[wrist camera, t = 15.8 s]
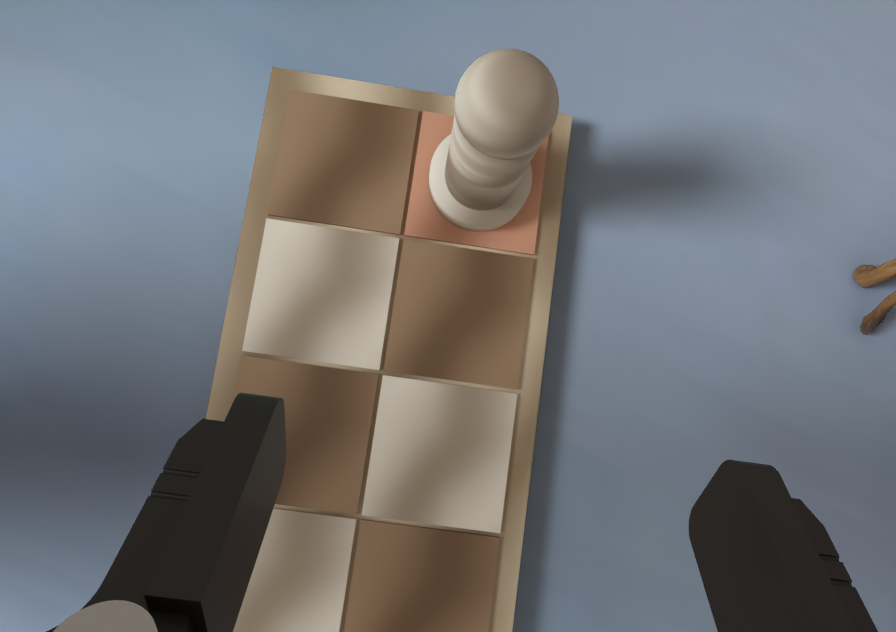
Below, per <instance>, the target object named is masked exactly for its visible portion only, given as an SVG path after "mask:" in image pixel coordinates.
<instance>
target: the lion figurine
mask: <svg viewBox="0 0 896 632" xmlns="http://www.w3.org/2000/svg"><path fill="white" fill-rule="evenodd" d="M853 277H854V279H855V281H856V282H857V284H858V285H859V286H861V287H864V288H867V287H871V286H874V285H876V284H878V283H880V282H884V281H887V280H890V279H892V278H895V277H896V258H895V259H893V260H892V261H889V262H886V263H884V264H882V265H880V266H879V267H874V266H872V265H862V266H860V267H858V268H857V269H856V270H855V271H854V273H853ZM894 305H896V291H895V292H894V293H892V294H891V295H889V296H888V297H887V298H885V299H884V300H883V301H882V302H881V303H880V304H879V306H878V307H877V308H876V309H875V310H873V311H872V312H871V313H869V314H868V315H867V316H865V317H864V318H863V322H862V324H861V326H860V331H861V333H863V334H864V335H868V334H870V333H871V332H872V331H873V330H874V329H875V328H876V327H877V326H878V325H879V324H880V323H882V321H883V320H884V319H885V317H886V314H887V313H888V312H889V311H890V309H891V308H892V307H893V306H894Z"/></svg>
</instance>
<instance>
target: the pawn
mask: <svg viewBox="0 0 896 632" xmlns="http://www.w3.org/2000/svg"><path fill="white" fill-rule="evenodd" d="M558 107H559V96H558V90H557V86H556V83H555V80H554V78H553V76H552V74H551V73H550V71H549V70H548V68H547V67H546V66H545V65H544V64H543V63H542V62H541V61H540V60H539V59H538V58H536V57H535V56H533V55H531V54H529V53H527V52H525V51H521V50H517V49H499V50H495V51H492V52H489V53H487V54H485V55H483V56H481V57H480V58H478V59H477V60H476V61H475V62H473V63H472V64H471V65H470V66H469V67H468V69H467V70H466V71H465V73H464V74H463V76H462V78H461V79H460V82H459V84H458V87H457V90H456V94H455V101H454V110H455V116H454V121H453V127H452V132H451V134H450V135H449V136H447V137H446V138H445V139H444V140H443V141H442V142H441V143H440V145H439V146H438V147H437V149H436V151H435V152H434V155H433V157H432V160H431V164H430V172H429V191H430V196H431V199H432V201H433V203H434V205H435V207H436V209H437V210H438V212H439V213H440V214H441V215H442V216H443V217H444V218H445V219H446V220H447V221H448V222H450V223H451V224H453V225H455V226H456V227H459V228H461V229H464V230H468V231H473V232H485V231H491V230H495V229H497V228H500V227H502V226H504V225H505V224H507V223H508V222H509V221H511V220H512V219H513V218H514V217H515V216H516V215H517V213H518V212H519V211H520V209H521V208H522V206H523V205H524V203H525V201H526V200H527V198H528V195H529V193H530V190H531V185H532V169H531V164H530V162H531V160H532V158H533V157H534V155H535V153H536V151H537V149H538V148H539V146H540V145H541V144H542V143H543V142H544V140H545V139H546V138H547V137H548V135H549V134H550V132H551V130H552V129H553V126H554V124H555V121H556V119H557V114H558Z"/></svg>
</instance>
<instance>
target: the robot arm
mask: <svg viewBox="0 0 896 632" xmlns="http://www.w3.org/2000/svg"><path fill="white" fill-rule="evenodd" d="M285 463H286V431H285V406H284V400H283V398H279V397H272V396H264V395H257V394H249V393H242V392H241V393H239V394H238V395H237V396H236V398H235V399H234V401H233V403H232V406H231V408H230V410H229V412H228V414H227V416H226V418H225V421H217V420H209V419H202V420H201V421H200V422H198V423H197V424H196V425H195V426H194V427H193V428H192V429H191V430H189V431H188V432H187V433H186V434H185V435H184V436H183V437H181V438H180V439H179V440H178V442H177V443H176V445H175V447H174V449H173V451H172V453H171V455H170V457H169V459H168V460H167V462H166V464H165V466H164V470H163V473H161V474H160V475H159V477H158V479H157V481H156V483H155V485H154V487H153V489H152V492H151V496H150V497H149V496H148V498H147V500H146V502H145V504H144V506H143V508H142V509H141V511H140V513H139V515H138V517H137V519H136V521H135V523H134V524H133V526H132V528H131V530H130V532H129V534H128V536H127V538H126V540H125V541H124V543H123V545H122V547H121V549H120V551H119V553H118V555H117V557H116V558H115V560H114V562H113V564H112V566H111V568H110V570H109V572H108V573H107V575H106V577H105V579H104V581H103V583H102V584H101V586H100V588H99V589H98V591H97V592H96V594H95V595H94V596H93V597H92V599H91V600H90V601H89V602H88V603H87V604H86V605H85V606H84V607H83V608H82V609H81V610H80V611H78V612H76V613H75V614H73V615H72V616H70V617H69V618H67V619H66V620H65V621H64V622H63V623H61V624H60V625H59V626H57V627H55V628H53V629H51V630H49V631H47V632H233V630H234V627H235V624H236V621H237V618H238V615H239V612H240V609H241V606H242V603H243V600H244V597H245V593H246V590H247V587H248V584H249V581H250V578H251V575H252V572H253V569H254V566H255V563H256V560H257V557H258V554H259V551H260V548H261V545H262V542H263V539H264V535H265V532H266V529H267V526H268V523H269V520H270V517H271V514H272V511H273V508H274V505H275V502H276V499H277V496H278V493H279V490H280V486H281V483H282V479H283V475H284V469H285ZM689 536H690V541H691V544H692V548H693V551H694V554H695V558H696V561H697V564H698V567H699V571H700V574H701V577H702V581H703V584H704V587H705V591H706V594H707V597H708V601H709V604H710V607H711V610H712V614H713V617H714V620H715V624H716V627H717V630H718V632H878V631H877V629H876V627H875V625H874V623H873V621H872V619H871V617H870V615H869V613H868V611H867V609H866V608H865V606H864V604H863V602H862V600H861V598H860V596H859V594H858V592H857V590H856V588H855V587H852V585H851V582H852V580H851V578H850V576H849V574H848V572H847V570H846V568H845V566H844V564H843V562H839V555H838V553H837V551H836V549H835V547H834V545H833V543H832V541H831V539H830V537H829V535H828V533H827V531H826V529H825V527H824V526H823V525H822V524H821V522H820V521H819V520H818V519H817V518H816V517H815V516H814V515H813V513H812V512H811V511H810V510H809V509H808V508H807V507H806V506H805V504H804V503H803V502H802V501H801V500H800V499H794V498H791V497H790V495H789V492H788V490H787V488H786V486H785V484H784V482H783V480H782V478H781V476H780V474H779V472H778V471H777V470H776V469H775V468H774V467H772V466H770V465H765V464H757V463H750V462H743V461H735V460H726V461H724V462H723V463H722V464H721V466H720V467H719V468H718V470H717V471H716V473H715V474H714V476H713V477H712V479H711V480H710V482H709V483H708V485H707V486H706V488H705V489H704V491H703V492H702V494H701V495H700V497H699V498H698V500H697V501H696V503H695V504H694V506H693V508H692V510H691V514H690V518H689Z"/></svg>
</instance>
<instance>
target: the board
mask: <svg viewBox="0 0 896 632" xmlns="http://www.w3.org/2000/svg"><path fill="white" fill-rule="evenodd" d="M454 101H455V97H454V96H448V95H442V94H436V93H430V92H424V91H417V90H411V89H405V88H399V87H393V86H387V85H380V84H374V83H368V82H362V81H356V80H350V79H343V78H337V77H331V76H325V75H319V74H313V73H306V72H300V71H294V70H288V69H282V68H276V67H272V72H271V77H270V82H269V88H268V93H267V98H266V103H265V109H264V114H263V119H262V124H261V130H260V135H259V140H258V146H257V151H256V156H255V161H254V167H253V172H252V177H251V182H250V188H249V193H248V198H247V204H246V209H245V214H244V219H243V225H242V230H241V235H240V240H239V246H238V251H237V256H236V262H235V267H234V272H233V277H232V283H231V288H230V293H229V298H228V304H227V309H226V314H225V319H224V325H223V330H222V335H221V341H220V346H219V351H218V356H217V362H216V367H215V372H214V377H213V383H212V388H211V393H210V399H209V404H208V409H207V414H206V419H209V420H217V421H225V418H226V416H227V414H228V412H229V410H230V408H231V406H232V403H233V401H234V399H235V398H236V396H237V395H238V394H239V393H241V392H242V393H249V394H257V395H264V396H272V397H279V398H283V400H284V406H285V431H286V463H285V469H284V475H283V479H282V483H281V486H280V490H279V493H278V496H277V499H276V502H275V505H274V508H273V511H272V514H271V517H270V520H269V523H268V526H267V529H266V532H265V535H264V539H263V542H262V545H261V548H260V551H259V554H258V557H257V560H256V563H255V566H254V569H253V572H252V575H251V578H250V581H249V584H248V587H247V590H246V593H245V597H244V600H243V603H242V606H241V609H240V612H239V615H238V618H237V621H236V624H235V627H234V630H233V632H512V629H513V621H514V612H515V603H516V595H517V586H518V578H519V569H520V561H521V552H522V543H523V535H524V526H525V518H526V509H527V501H528V492H529V483H530V475H531V466H532V458H533V449H534V441H535V432H536V423H537V415H538V406H539V398H540V389H541V381H542V372H543V363H544V355H545V346H546V338H547V329H548V321H549V312H550V303H551V295H552V286H553V278H554V269H555V261H556V252H557V243H558V235H559V226H560V218H561V209H562V201H563V192H564V183H565V175H566V166H567V158H568V149H569V141H570V132H571V123H572V116H571V115H565V114H559V113H558V114H557V119H556V121H555V124H554V126H553V129H552V130H551V132H550V134H549V135H548V137H547V138H546V139H545V140H544V142H543V143H542V144H541V145H540V146H539V148H538V149H537V151H536V153H535V155H534V157H533V158H532V160H531V162H530V164H531V169H532V185H531V190H530V193H529V195H528V198H527V200H526V201H525V203H524V205H523V206H522V208H521V209H520V211H519V212H518V213H517V215H516V216H515V217H514V218H513V219H512V220H511V221H509V222H508V223H507V224H505V225H504V226H502V227H500V228H497V229H495V230H491V231H485V232H473V231H468V230H464V229H461V228H459V227H456V226H455V225H453V224H451V223H450V222H448V221H447V220H446V219H445V218H444V217H443V216H442V215H441V214H440V213H439V212H438V210H437V209H436V207H435V205H434V203H433V201H432V199H431V196H430V191H429V172H430V164H431V160H432V157H433V155H434V152H435V151H436V149H437V147H438V146H439V145H440V143H441V142H442V141H443V140H444V139H445V138H446V137H447V136H449V135H450V134H451V132H452V127H453V121H454V116H455V110H454Z"/></svg>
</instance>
